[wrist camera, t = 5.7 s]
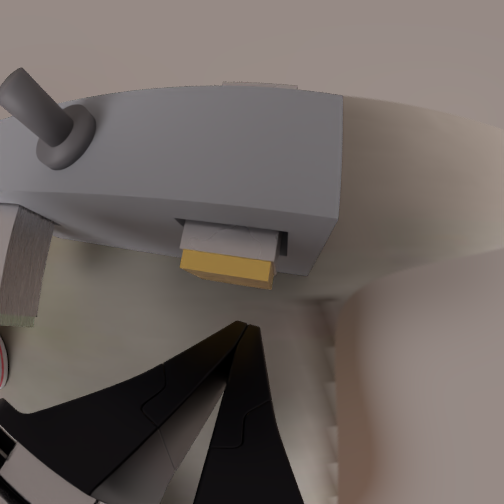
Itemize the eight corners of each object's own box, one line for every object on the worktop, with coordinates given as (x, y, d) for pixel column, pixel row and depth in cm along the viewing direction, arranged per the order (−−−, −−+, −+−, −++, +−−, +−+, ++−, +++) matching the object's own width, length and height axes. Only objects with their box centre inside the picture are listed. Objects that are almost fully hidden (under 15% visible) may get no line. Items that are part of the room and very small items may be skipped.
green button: (35, 327, 12) (-5, 325, 10) (7, 313, 13) (-30, 308, 10) (64, 192, 14) (30, 170, 11) (34, 191, 14) (2, 172, 11)
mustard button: (273, 290, 12) (270, 281, 9) (200, 279, 12) (175, 266, 9) (296, 128, 13) (297, 85, 10) (234, 123, 14) (223, 81, 11)
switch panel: (306, 276, 17) (381, 134, 3) (58, 237, 19) (-87, 167, 6) (315, 209, 17) (360, -2, 4) (72, 188, 20) (-53, 95, 7)
